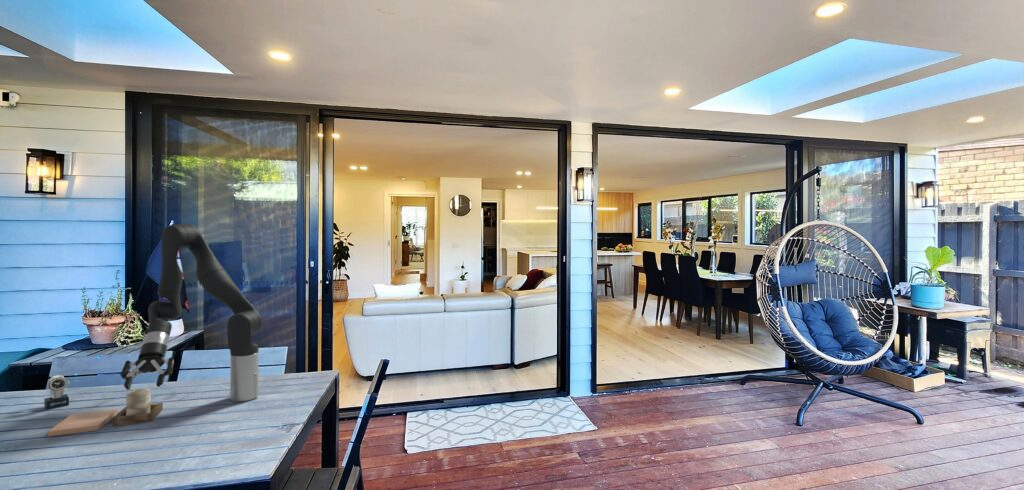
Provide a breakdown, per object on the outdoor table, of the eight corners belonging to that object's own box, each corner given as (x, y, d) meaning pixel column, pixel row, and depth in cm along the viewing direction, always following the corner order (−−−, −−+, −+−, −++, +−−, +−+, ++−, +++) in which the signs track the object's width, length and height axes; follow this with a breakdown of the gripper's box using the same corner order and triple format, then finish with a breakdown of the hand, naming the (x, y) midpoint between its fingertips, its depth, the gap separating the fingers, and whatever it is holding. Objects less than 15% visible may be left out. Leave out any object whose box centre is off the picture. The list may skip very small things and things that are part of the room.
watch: (47, 411, 151) (47, 380, 151) (43, 406, 156) (43, 375, 156) (70, 406, 156) (70, 376, 156) (65, 401, 161) (65, 371, 160)
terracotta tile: (117, 413, 151) (117, 408, 151) (98, 429, 138) (98, 425, 138) (71, 418, 146) (71, 414, 146) (48, 436, 134) (48, 431, 134)
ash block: (150, 413, 151) (150, 388, 151) (145, 419, 147) (145, 393, 147) (132, 415, 149) (132, 390, 149) (126, 421, 145) (126, 395, 145)
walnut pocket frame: (162, 409, 155) (162, 402, 155) (152, 421, 145) (152, 413, 145) (125, 413, 151) (125, 406, 151) (112, 426, 141) (112, 418, 141)
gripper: (127, 342, 157) (113, 384, 146) (175, 339, 162) (165, 379, 152) (133, 353, 162) (120, 394, 151) (180, 350, 167) (170, 389, 157)
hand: (143, 387), depth 152 cm, fingers open, 8 cm apart
